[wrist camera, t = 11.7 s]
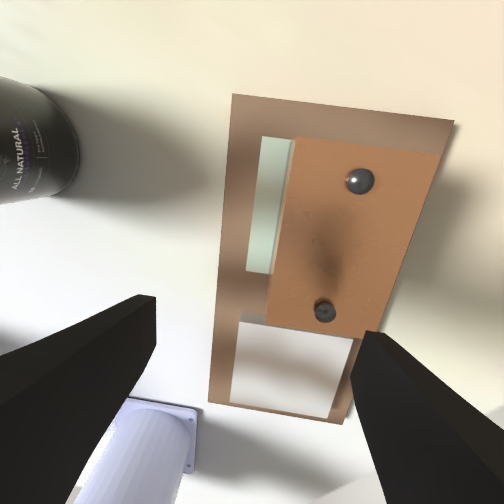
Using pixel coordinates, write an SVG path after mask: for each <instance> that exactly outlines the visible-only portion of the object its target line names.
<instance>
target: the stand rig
mask: <svg viewBox="0 0 504 504" xmlns="http://www.w3.org/2000/svg"><path fill="white" fill-rule="evenodd" d="M454 121H455V120H447V119H439V118H431V117H422V116H414V115H406V114H398V113H389V112H381V111H373V110H365V109H356V108H348V107H340V106H332V105H323V104H315V103H307V102H299V101H290V100H282V99H274V98H266V97H257V96H249V95H241V94H233V93H232V104H231V116H230V129H229V141H228V154H227V166H226V179H225V191H224V204H223V216H222V229H221V242H220V254H219V267H218V279H217V292H216V304H215V317H214V329H213V342H212V355H211V367H210V380H209V392H208V402H210V403H216V404H222V405H228V406H234V407H240V408H245V409H251V410H257V411H263V412H269V413H275V414H281V415H287V416H292V417H298V418H304V419H310V420H316V421H322V422H328V423H334V424H339V425H342V424H343V422H344V419H345V416H346V414H347V411H348V408H349V405H350V403H351V400H352V397H353V391H352V386H351V380H350V374H351V371H352V368H353V366H354V363H355V360H356V357H357V354H358V351H359V349H360V346H361V343H362V340H363V339H359V338H353V337H346V336H340V335H333V334H327V333H321V332H314V331H308V330H302V329H295V328H289V327H282V326H276V325H270V324H265V314H266V300H267V285H268V274H269V267H270V261H271V255H272V249H273V243H274V236H275V230H276V224H277V218H278V212H279V205H280V199H281V193H282V187H283V181H284V174H285V168H286V162H287V156H288V150H289V143H290V142H291V141H292V140H293V139H294V138H295V137H296V136H297V137H305V138H312V139H320V140H328V141H336V142H344V143H352V144H360V145H367V146H375V147H383V148H391V149H399V150H407V151H415V152H422V153H430V154H438V155H442V153H443V150H444V148H445V145H446V142H447V140H448V137H449V134H450V131H451V129H452V126H453V123H454ZM440 159H441V158H440ZM437 167H438V166H437ZM433 178H434V177H433ZM430 186H431V185H430ZM426 197H427V196H426ZM423 205H424V204H423ZM419 216H420V215H419ZM416 224H417V223H416ZM413 232H414V231H413ZM412 235H413V234H412ZM409 243H410V242H409ZM406 251H407V250H406ZM405 254H406V253H405ZM402 262H403V261H402ZM399 270H400V269H399ZM398 273H399V272H398ZM395 281H396V280H395ZM392 289H393V288H392ZM391 292H392V291H391ZM388 300H389V299H388ZM385 308H386V307H385ZM384 311H385V310H384ZM381 319H382V318H381ZM378 327H379V326H378Z"/></svg>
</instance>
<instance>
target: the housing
mask: <svg viewBox="0 0 504 504" xmlns="http://www.w3.org/2000/svg"><path fill="white" fill-rule="evenodd" d="M441 156H442V155H438V154H430V153H422V152H415V151H407V150H399V149H391V148H383V147H375V146H367V145H360V144H352V143H344V142H336V141H328V140H320V139H312V138H305V137H297V136H296V137H295V138H294V139H293V140H292V141H291V142H290V143H289V150H288V156H287V162H286V168H285V174H284V181H283V187H282V193H281V199H280V205H279V212H278V218H277V224H276V230H275V236H274V243H273V249H272V255H271V261H270V267H269V274H268V285H267V300H266V314H265V324H270V325H276V326H282V327H289V328H295V329H302V330H308V331H314V332H321V333H327V334H333V335H340V336H346V337H353V338H359V339H363V337H364V334H365V331H366V330H368V331H374V332H377V329H378V326H379V324H380V321H381V318H382V316H383V313H384V310H385V307H386V305H387V302H388V299H389V297H390V294H391V291H392V288H393V286H394V283H395V280H396V278H397V275H398V272H399V269H400V267H401V264H402V261H403V259H404V256H405V253H406V250H407V248H408V245H409V242H410V240H411V237H412V234H413V231H414V229H415V226H416V223H417V221H418V218H419V215H420V213H421V210H422V207H423V204H424V202H425V199H426V196H427V194H428V191H429V188H430V185H431V183H432V180H433V177H434V175H435V172H436V169H437V166H438V164H439V161H440V158H441Z"/></svg>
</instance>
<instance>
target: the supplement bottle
mask: <svg viewBox="0 0 504 504" xmlns="http://www.w3.org/2000/svg"><path fill="white" fill-rule="evenodd" d="M78 164H79V148H78V143H77V139H76V136H75V133H74V130H73V128H72V126H71V124H70V122H69V120H68V119H67V117H66V116H65V114H64V113H63V112H62V110H61V109H60V108H59V107H58V106H57V105H56V104H55V103H54V102H53V101H52V100H51V99H50V98H49V97H47V96H46V95H45V94H43V93H42V92H40V91H38V90H37V89H35V88H33V87H31V86H28V85H26V84H23V83H20V82H17V81H14V80H11V79H8V78H4V77H1V76H0V205H1V204H7V203H13V202H19V201H25V200H31V199H36V198H42V197H47V196H51V195H54V194H57V193H59V192H61V191H62V190H64V189H65V188H66V187H67V186H68V185H69V184H70V183H71V182H72V180H73V178H74V177H75V175H76V172H77V169H78Z"/></svg>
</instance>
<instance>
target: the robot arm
mask: <svg viewBox="0 0 504 504" xmlns="http://www.w3.org/2000/svg"><path fill="white" fill-rule="evenodd" d="M155 346H156V297H153V296H147V295H140V294H138V295H136V296H133V297H131V298H129V299H127V300H124V301H122V302H120V303H118V304H116V305H114V306H112V307H110V308H108V309H106V310H104V311H102V312H100V313H98V314H96V315H94V316H91V317H89V318H87V319H85V320H83V321H81V322H79V323H77V324H75V325H72V326H70V327H68V328H66V329H63V330H61V331H59V332H57V333H54V334H52V335H50V336H48V337H45V338H43V339H41V340H39V341H36V342H34V343H32V344H29V345H27V346H24V347H22V348H19V349H17V350H14V351H12V352H9V353H6V354H4V355H1V356H0V504H65V503H66V501H67V499H68V497H69V495H70V493H71V491H72V489H73V488H74V486H75V484H76V482H77V480H78V478H79V476H80V474H81V473H82V471H83V469H84V467H85V465H86V463H87V461H88V460H89V458H90V456H91V454H92V453H93V451H94V449H95V448H96V446H97V444H98V443H99V441H100V439H101V438H102V436H103V435H104V433H105V432H106V430H107V428H108V427H109V425H110V424H111V422H112V421H113V419H114V417H115V416H116V424H117V429H116V431H115V433H114V434H113V436H112V438H111V439H110V441H109V443H108V445H107V446H106V448H105V450H104V452H103V453H102V455H101V457H100V458H99V460H98V462H97V464H96V465H95V467H94V469H93V470H92V472H91V474H90V476H89V477H88V479H87V481H86V483H85V484H84V486H83V488H82V489H81V491H80V493H79V495H78V496H77V498H76V500H75V501H74V503H73V504H174V503H175V499H176V496H177V492H178V489H179V486H180V482H181V479H182V475H183V473H186V474H192V473H193V471H194V461H195V445H196V428H197V412H196V410H194V409H189V408H184V407H178V406H172V405H166V404H160V403H155V402H149V401H143V400H137V399H131V398H127V397H128V396H129V394H130V392H131V391H132V389H133V388H134V386H135V384H136V383H137V381H138V380H139V378H140V376H141V375H142V373H143V371H144V369H145V367H146V365H147V363H148V361H149V359H150V357H151V355H152V353H153V351H154V349H155ZM350 380H351V386H352V391H353V396H354V401H355V406H356V410H357V413H358V416H359V419H360V422H361V425H362V429H363V432H364V435H365V438H366V441H367V444H368V447H369V450H370V453H371V456H372V459H373V462H374V465H375V468H376V471H377V474H378V477H379V480H380V483H381V486H382V489H383V492H384V496H385V499H386V503H387V504H504V430H503V429H502V428H500V427H499V426H498V425H496V424H495V423H493V422H492V421H491V420H490V419H489V418H487V417H486V416H485V415H484V414H482V413H481V412H480V411H478V410H477V409H476V408H475V407H473V406H472V405H471V404H470V403H468V402H467V401H466V400H465V399H463V398H462V397H461V396H460V395H458V394H457V393H456V392H455V391H453V390H452V389H451V388H450V387H449V386H447V385H446V384H445V383H444V382H443V381H441V380H440V379H439V378H438V377H437V376H435V375H434V374H433V373H432V372H431V371H430V370H428V369H427V368H426V367H425V366H424V365H423V364H421V363H420V362H419V361H418V360H417V359H416V358H414V357H413V356H412V355H411V354H410V353H409V352H407V351H406V350H405V349H404V348H403V347H401V346H400V345H399V344H398V343H397V342H395V341H394V340H393V339H392V338H390V337H389V336H388V335H386V334H385V333H380V332H374V331H368V330H366V331H365V334H364V337H363V340H362V343H361V346H360V349H359V351H358V354H357V357H356V360H355V363H354V366H353V368H352V371H351V374H350Z"/></svg>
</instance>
